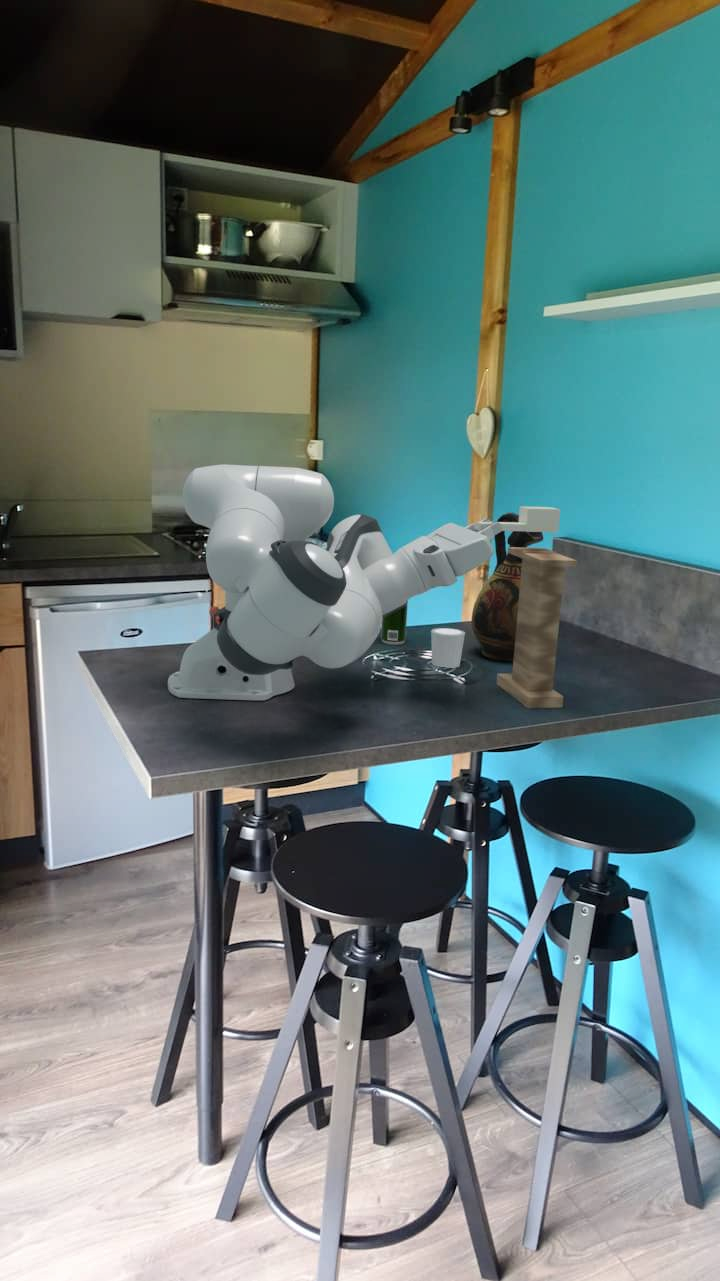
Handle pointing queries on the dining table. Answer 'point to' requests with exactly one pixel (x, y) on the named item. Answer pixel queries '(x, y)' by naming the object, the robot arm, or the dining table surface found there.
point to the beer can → (394, 627)
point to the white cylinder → (447, 647)
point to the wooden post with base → (537, 628)
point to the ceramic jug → (501, 596)
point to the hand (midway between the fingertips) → (495, 523)
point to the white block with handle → (530, 520)
